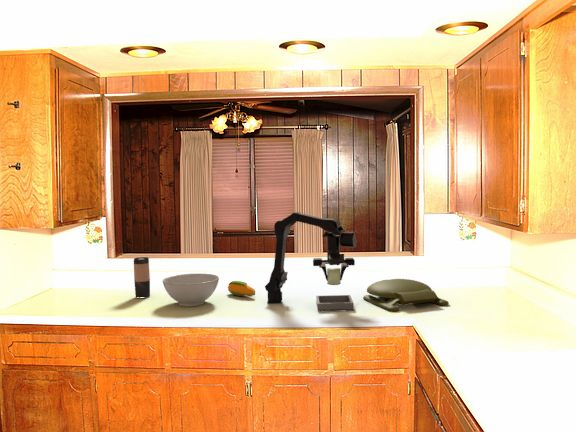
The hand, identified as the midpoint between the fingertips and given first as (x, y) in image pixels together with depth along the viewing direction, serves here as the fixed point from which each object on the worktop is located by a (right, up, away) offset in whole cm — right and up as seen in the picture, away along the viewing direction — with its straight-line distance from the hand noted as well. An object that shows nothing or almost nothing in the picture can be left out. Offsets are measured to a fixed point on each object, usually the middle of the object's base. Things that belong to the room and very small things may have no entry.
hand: (333, 280), depth 264 cm
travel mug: (-95, -12, +31) cm, 101 cm away
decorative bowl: (-67, -13, +15) cm, 70 cm away
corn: (-44, -11, +29) cm, 54 cm away
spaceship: (+33, -11, +10) cm, 36 cm away
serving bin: (0, -12, +1) cm, 12 cm away
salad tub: (0, -2, 0) cm, 2 cm away
